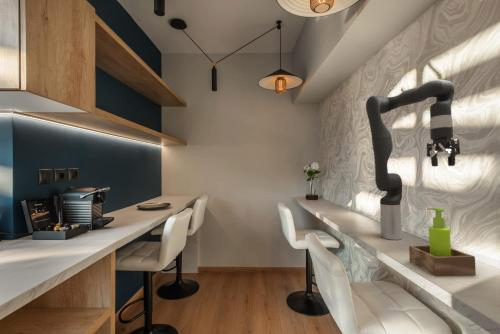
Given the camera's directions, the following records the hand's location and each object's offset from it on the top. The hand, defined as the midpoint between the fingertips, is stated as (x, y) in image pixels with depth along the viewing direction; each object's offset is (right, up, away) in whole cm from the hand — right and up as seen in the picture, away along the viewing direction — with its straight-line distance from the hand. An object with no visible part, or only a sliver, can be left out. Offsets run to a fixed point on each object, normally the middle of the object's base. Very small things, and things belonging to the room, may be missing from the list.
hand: (442, 166), depth 101 cm
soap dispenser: (-13, -35, -15) cm, 41 cm away
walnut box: (-13, -36, -16) cm, 42 cm away
